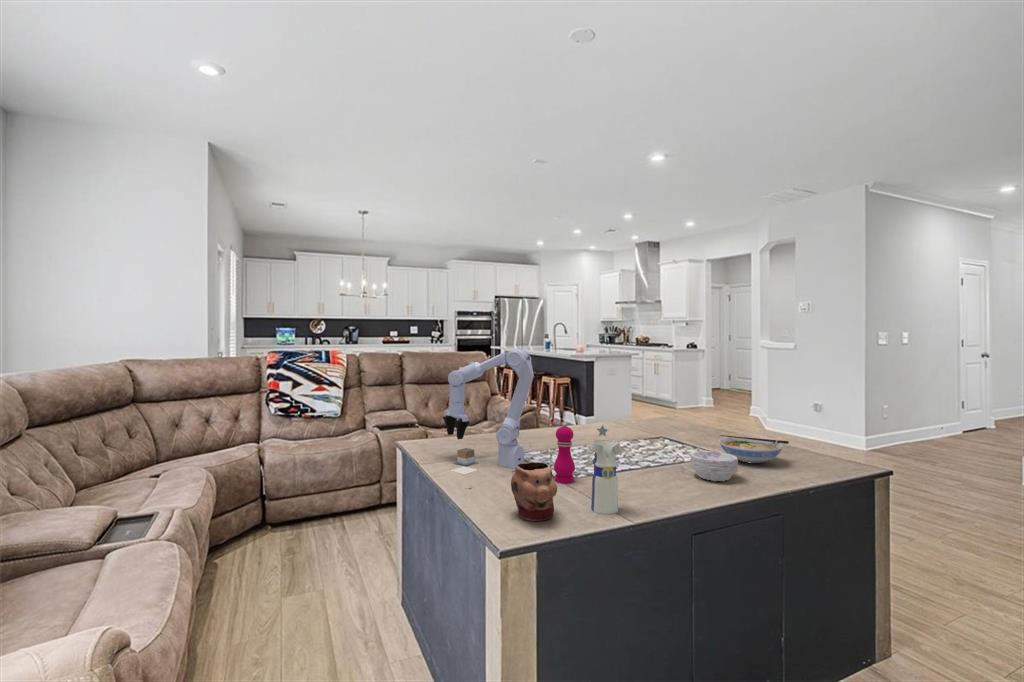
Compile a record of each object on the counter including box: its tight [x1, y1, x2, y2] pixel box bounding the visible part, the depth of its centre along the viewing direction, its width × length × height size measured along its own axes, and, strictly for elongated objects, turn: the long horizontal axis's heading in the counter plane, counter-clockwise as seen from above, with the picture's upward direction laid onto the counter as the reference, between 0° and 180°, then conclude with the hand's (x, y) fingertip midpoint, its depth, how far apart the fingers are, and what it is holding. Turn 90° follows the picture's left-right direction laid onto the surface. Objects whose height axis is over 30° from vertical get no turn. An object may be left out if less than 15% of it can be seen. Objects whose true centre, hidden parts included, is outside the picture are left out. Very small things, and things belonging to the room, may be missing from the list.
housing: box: [456, 447, 475, 465], centre depth 187 cm, size 4×4×5 cm
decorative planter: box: [510, 461, 558, 522], centre depth 139 cm, size 20×12×14 cm, turn 23°
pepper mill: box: [553, 421, 576, 484], centre depth 170 cm, size 7×7×20 cm
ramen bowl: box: [718, 434, 790, 464], centre depth 195 cm, size 25×23×8 cm
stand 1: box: [452, 461, 479, 468], centre depth 187 cm, size 7×7×1 cm
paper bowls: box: [689, 450, 739, 482], centre depth 174 cm, size 15×15×8 cm
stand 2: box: [450, 466, 478, 475], centre depth 178 cm, size 7×7×1 cm
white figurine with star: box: [590, 424, 622, 515], centre depth 143 cm, size 8×9×25 cm
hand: (455, 436), depth 192 cm, fingers open, 7 cm apart
